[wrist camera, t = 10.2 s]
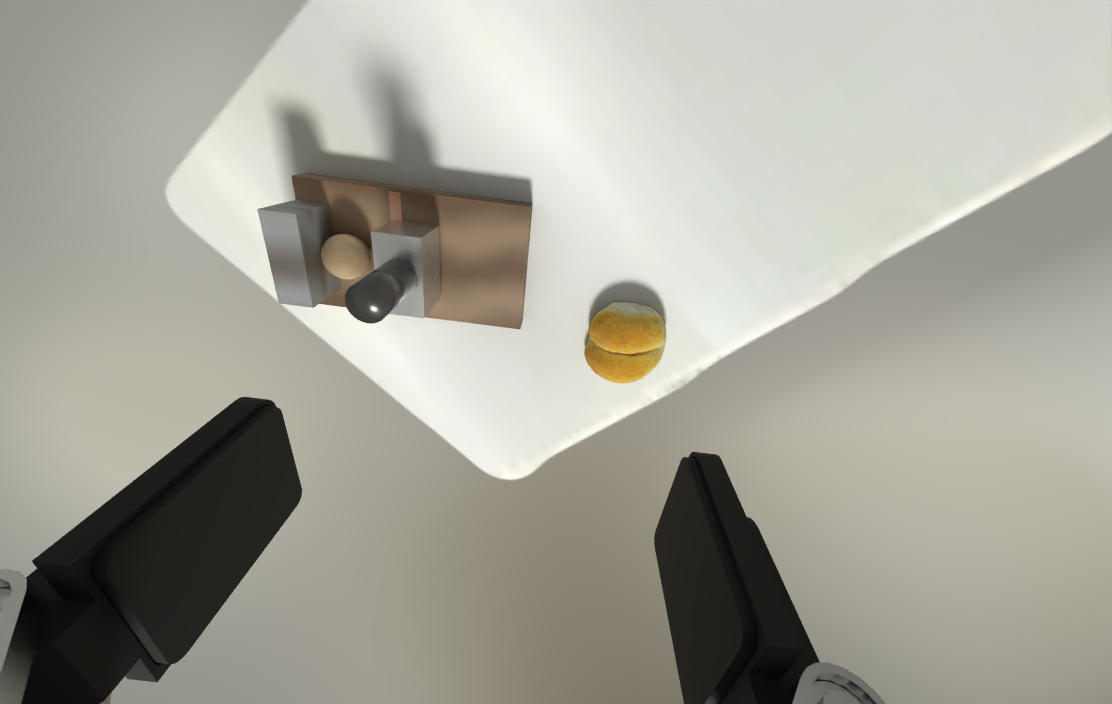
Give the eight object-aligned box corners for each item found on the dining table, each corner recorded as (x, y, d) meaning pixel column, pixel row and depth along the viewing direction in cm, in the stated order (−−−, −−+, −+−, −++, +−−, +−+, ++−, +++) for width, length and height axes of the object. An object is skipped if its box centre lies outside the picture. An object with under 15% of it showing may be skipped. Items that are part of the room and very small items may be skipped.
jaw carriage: (394, 219, 36) (330, 251, 27) (439, 225, 36) (390, 258, 27) (399, 293, 40) (344, 343, 30) (440, 298, 40) (397, 350, 30)
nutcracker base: (305, 173, 37) (251, 182, 31) (532, 203, 37) (523, 218, 31) (325, 296, 43) (283, 323, 37) (522, 321, 43) (513, 352, 37)
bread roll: (580, 369, 46) (581, 389, 43) (593, 296, 42) (594, 311, 38) (652, 378, 46) (658, 398, 43) (672, 306, 42) (681, 322, 38)
